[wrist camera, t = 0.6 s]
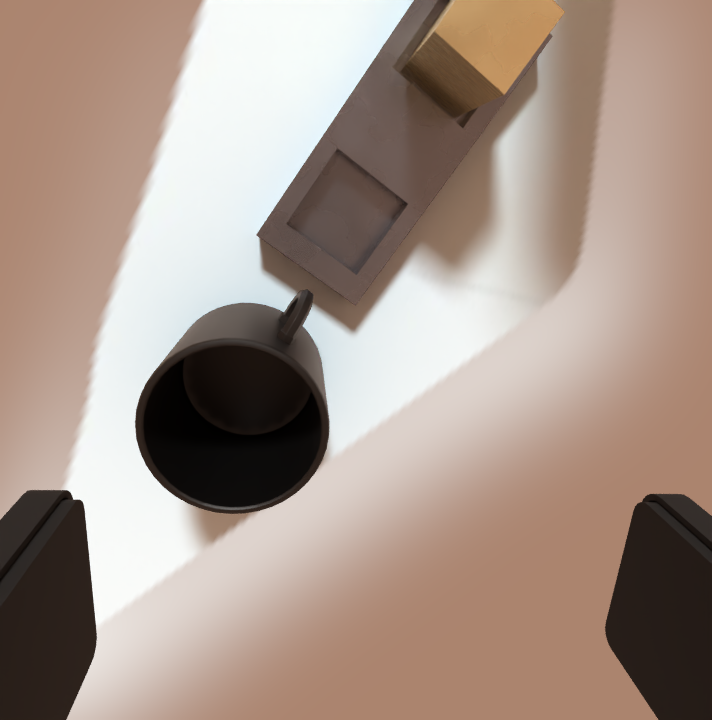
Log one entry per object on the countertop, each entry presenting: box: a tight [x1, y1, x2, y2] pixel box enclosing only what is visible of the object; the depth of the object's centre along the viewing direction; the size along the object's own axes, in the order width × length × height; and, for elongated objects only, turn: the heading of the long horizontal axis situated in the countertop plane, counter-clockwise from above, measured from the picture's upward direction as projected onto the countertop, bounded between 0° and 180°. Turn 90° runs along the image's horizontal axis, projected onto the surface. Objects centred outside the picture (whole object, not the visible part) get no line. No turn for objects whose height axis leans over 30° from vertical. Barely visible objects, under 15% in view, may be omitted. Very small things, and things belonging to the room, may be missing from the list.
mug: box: [135, 290, 329, 514], centre depth 31 cm, size 9×12×9 cm
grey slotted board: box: [257, 0, 552, 305], centre depth 31 cm, size 18×7×2 cm, turn 144°
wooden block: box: [401, 0, 565, 118], centre depth 27 cm, size 4×4×8 cm
